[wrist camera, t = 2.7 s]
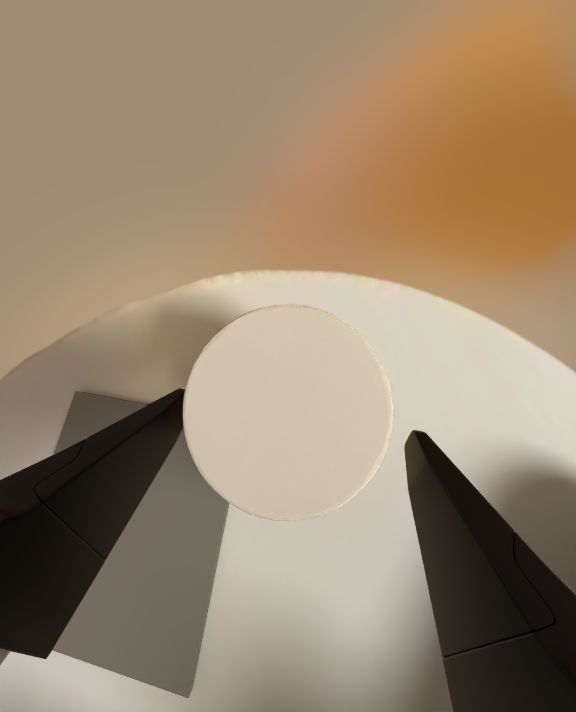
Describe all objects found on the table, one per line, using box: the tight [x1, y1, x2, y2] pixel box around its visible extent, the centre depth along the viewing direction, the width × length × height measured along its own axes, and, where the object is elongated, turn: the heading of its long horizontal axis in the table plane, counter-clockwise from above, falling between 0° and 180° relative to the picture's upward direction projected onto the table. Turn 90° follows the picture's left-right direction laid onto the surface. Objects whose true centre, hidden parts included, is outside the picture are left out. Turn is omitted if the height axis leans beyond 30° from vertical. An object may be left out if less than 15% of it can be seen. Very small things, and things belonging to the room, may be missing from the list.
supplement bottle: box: [183, 305, 393, 521], centre depth 11 cm, size 7×7×13 cm
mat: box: [53, 392, 229, 698], centre depth 17 cm, size 16×14×1 cm
